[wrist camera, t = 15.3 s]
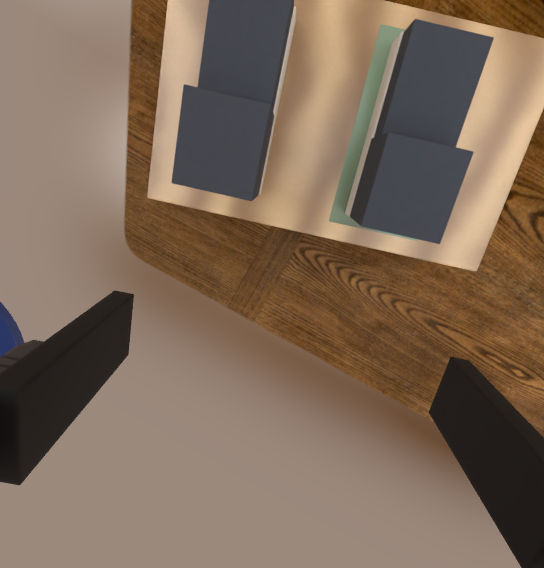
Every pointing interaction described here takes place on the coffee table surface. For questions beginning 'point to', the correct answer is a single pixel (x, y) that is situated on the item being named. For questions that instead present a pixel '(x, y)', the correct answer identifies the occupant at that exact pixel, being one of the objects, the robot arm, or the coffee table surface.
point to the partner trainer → (234, 97)
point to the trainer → (418, 132)
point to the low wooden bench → (355, 124)
